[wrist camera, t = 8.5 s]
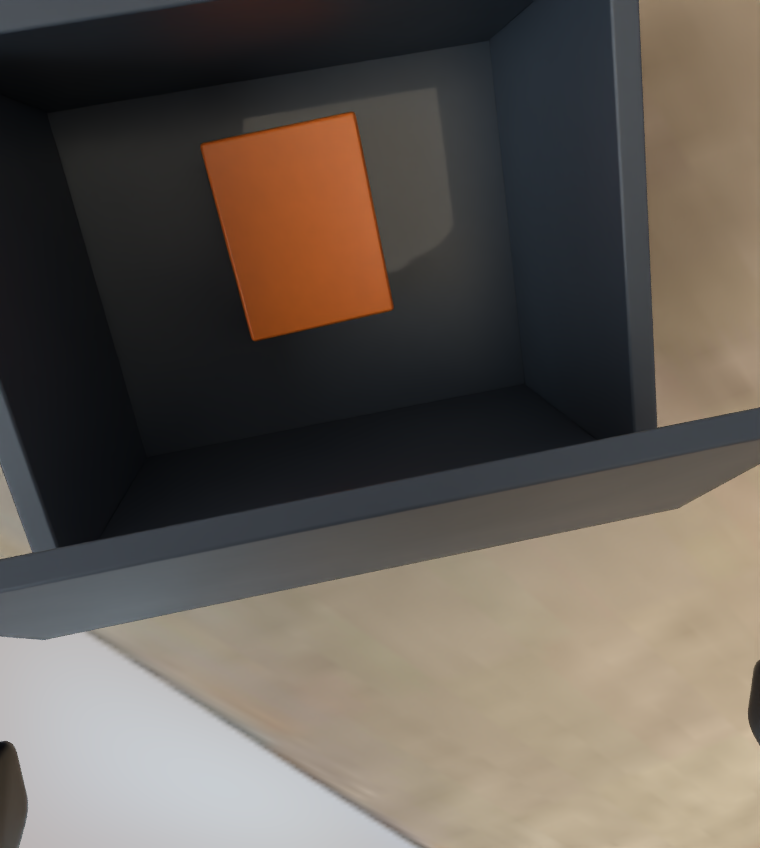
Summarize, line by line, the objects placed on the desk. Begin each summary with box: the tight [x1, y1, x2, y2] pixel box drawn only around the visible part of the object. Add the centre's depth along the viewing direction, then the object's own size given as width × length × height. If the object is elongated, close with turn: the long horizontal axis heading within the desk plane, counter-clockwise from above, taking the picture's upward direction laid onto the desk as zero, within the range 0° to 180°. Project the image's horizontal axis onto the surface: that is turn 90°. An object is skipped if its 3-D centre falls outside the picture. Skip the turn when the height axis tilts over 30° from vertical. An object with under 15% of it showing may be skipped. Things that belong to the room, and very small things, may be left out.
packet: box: [200, 112, 394, 341], centre depth 17 cm, size 4×4×2 cm
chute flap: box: [0, 407, 760, 640], centre depth 11 cm, size 5×12×1 cm
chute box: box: [0, 0, 657, 553], centre depth 15 cm, size 10×12×8 cm
